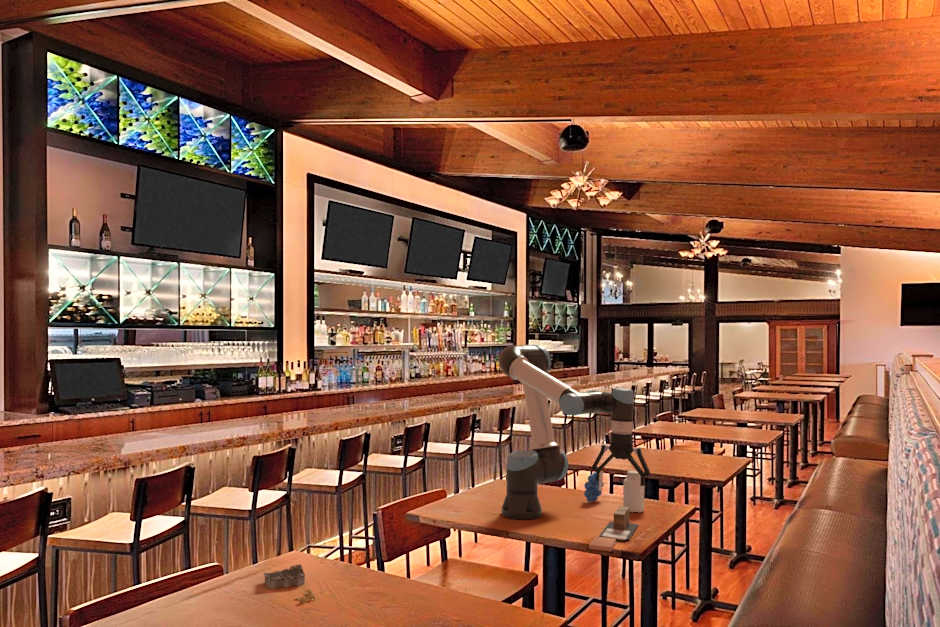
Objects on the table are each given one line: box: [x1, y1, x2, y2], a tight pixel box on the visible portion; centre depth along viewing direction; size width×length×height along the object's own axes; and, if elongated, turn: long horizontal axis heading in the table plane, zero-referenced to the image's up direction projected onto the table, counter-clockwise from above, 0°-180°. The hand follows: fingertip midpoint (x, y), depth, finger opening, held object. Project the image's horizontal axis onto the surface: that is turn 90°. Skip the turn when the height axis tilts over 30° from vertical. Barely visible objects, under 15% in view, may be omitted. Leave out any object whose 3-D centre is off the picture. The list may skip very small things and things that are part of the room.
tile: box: [588, 536, 617, 553], centre depth 244 cm, size 7×2×10 cm
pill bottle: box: [622, 470, 645, 513], centre depth 290 cm, size 8×8×15 cm
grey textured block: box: [263, 564, 306, 590], centre depth 205 cm, size 11×8×4 cm
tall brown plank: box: [602, 505, 631, 541], centre depth 259 cm, size 22×8×6 cm, turn 159°
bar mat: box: [598, 521, 639, 541], centre depth 260 cm, size 10×20×1 cm, turn 159°
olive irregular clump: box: [294, 589, 316, 604], centre depth 194 cm, size 5×5×2 cm
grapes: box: [583, 471, 605, 503], centre depth 304 cm, size 12×7×12 cm, turn 134°
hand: (619, 492), depth 263 cm, fingers open, 13 cm apart
